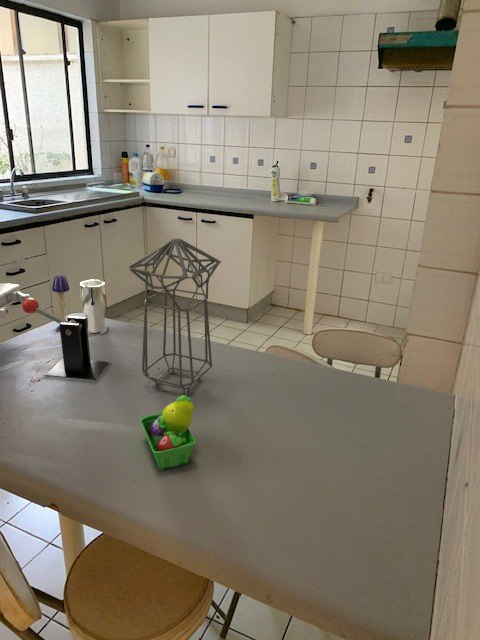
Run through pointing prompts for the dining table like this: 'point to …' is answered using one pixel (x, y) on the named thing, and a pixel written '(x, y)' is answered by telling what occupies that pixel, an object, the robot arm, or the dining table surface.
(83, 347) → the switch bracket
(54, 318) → the switch lever
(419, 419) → the dining table surface
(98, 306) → the silver metal vase
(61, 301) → the toy lamp
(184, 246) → the geometric lantern
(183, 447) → the fruit basket
